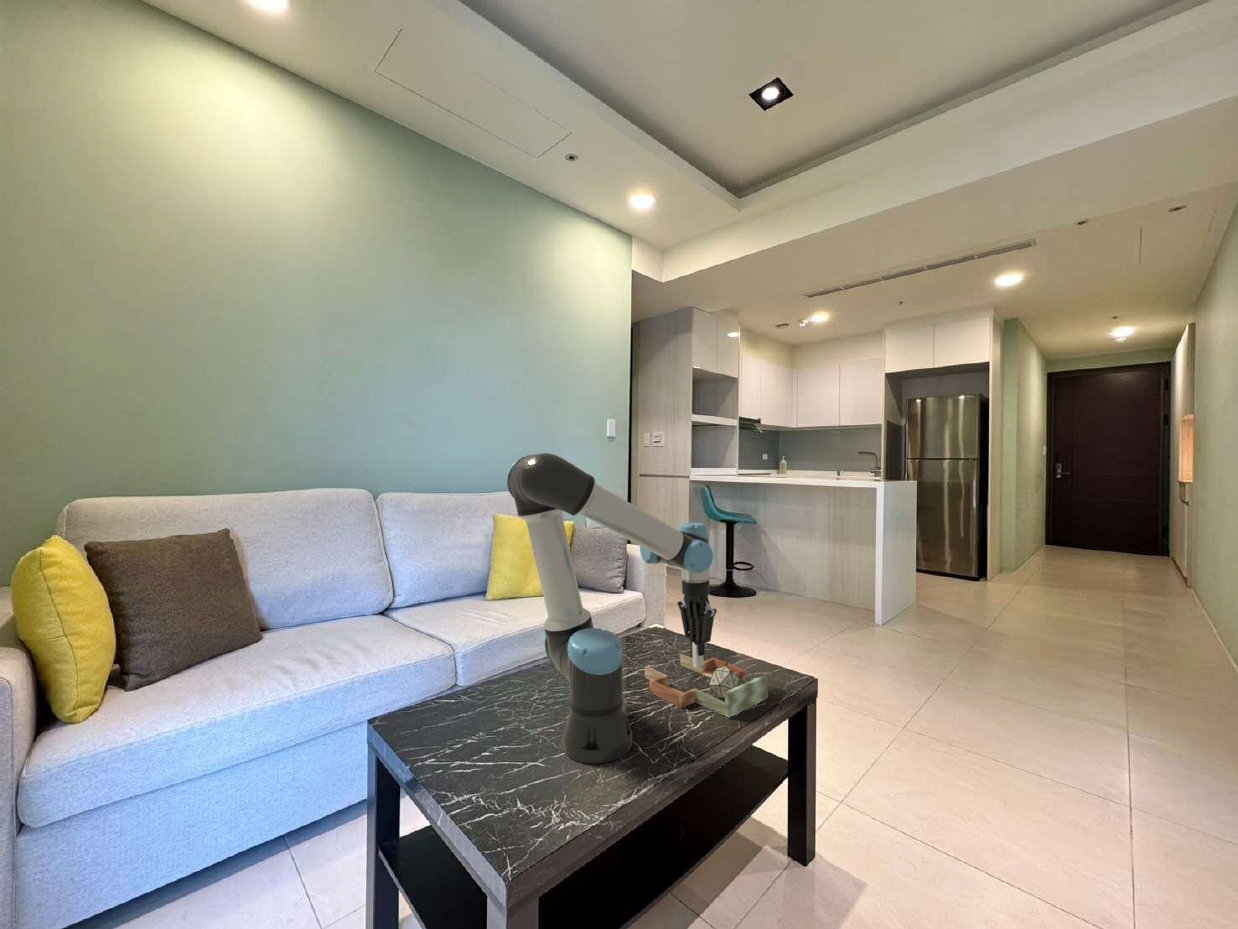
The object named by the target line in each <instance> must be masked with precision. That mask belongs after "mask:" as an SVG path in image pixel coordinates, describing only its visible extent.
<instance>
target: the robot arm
mask: <svg viewBox="0 0 1238 929" xmlns="http://www.w3.org/2000/svg"><path fill="white" fill-rule="evenodd" d="M506 487H507V490H508V492H509V494H510V496H511V497H512V498H513V499H514V503H515V508H516V511H517V516H518V518H520V519H522V520H524V521H525V522H526V525H527V526H526V527H527V530H528V534H529V539H530V544H531V548H532V551H533V556H534V561H535V566H536V570H537V574H538V579H539V582H540V587H541V591H542V595H543V600H544V604H545V608H546V613H547V618H546V620H545V621H544V622H543V628H544V633H545V635H544V640H543V644H544V645H543V646H544V651H545V654H546V656H547V659H548V660H549V662H550V663H551V664H552V665H553V666H554V668H556V669H557V670H558V671H559V672H560V673H561V674H562V675H563V676H564V677H565V679H567V681H568V685H569V712H568V716H567V720H566V723H565V728H564V731H563V734H562V748H563V752H564V753H565V755H566V756H567V757H568V758H570V759H572V760H574V761H576V762H577V761H578V762H581V763H585V764H605V763H610V762H612V761H615V760H618V759H620V758H622V757H624V756H625V755H626V754H627V753H629V752H630V750H631V749H632V746H633V731H632V728H631V725H630V721H629V719H628V717H627V714H626V711H625V708H624V686H623V684H624V680H623V679H624V678H623V677H624V675H623V657H624V656H623V650H622V642H621V640H620V638H619V637H618V635H616V634H615V633H614V632H612V631H610V630H608V629H607V630H606V629H604V630H603V629H602V628H599V627H598V628H596V627H595V628H594V624H593V619H592V615H591V614H592V613H591V611H589V610H588V609H587V608H584V607H583V602H582V599H581V594H580V589H579V586H578V580H577V576H576V571H575V567H574V563H573V562H574V561H573V558H572V552H571V549H570V546H569V541H568V535H567V530H566V527H565V522H564V517H563V512H565V513H567V514H569V515H571V516H573V517H575V516H579V515H580V516H583V517H585V518H586V519H588V520H590V521H592V522H594V523H596V524H598V525H600V526H601V527H602V528H603V527H604V528H605V529H607V530H609V531H611V532H613V533H615V534H617V535H619V536H621V537H623V538H625V539H627V540H628V541H630V542H631V543H634V544H636V545H638V546H639V553H640V556H641V559H642V560H643V561H644V563H646V564H651V565H653V564H654V565H657V564H666V565H669V566H672V567H676V568H680V570H681V571H680V572H681V573H680V574H681V579H682V581H681V588H682V589H681V593H682V594H683V599H682V600H680V601H677V607H678V608H679V611H680V616H681V621H682V626H683V627H682V628H683V632H684V636H685V638H686V639H688V640H689V641H690V650H691V654H692V658H693V667H695V668H699V667H702V666H704V661H705V660H704V658H705V657H704V656H705V654H706V647H705V644H706V643H709V642H711V638H712V632H713V626H714V618H715V616H716V614H717V612H718V611H717V609H716V608H712V606H711V604H710V600H709V595H710V593H711V590H710V589H711V588H710V585H711V584H710V580H709V578H710V567H711V566H712V563H713V559H714V552H713V548H712V547H711V546H710V545H709V540H710V538H709V532H708V527H707V525H706V524H705V523H703V522H685V523H681V524H680V526H679V530H678V529H676V528H675V527H673V526H671V525H670V524H668V523H666V522H664V521H662V520H660V519H659V518H657V517H655V515H653V514H650V513H649V512H647V511H645V510H643V509H641V508H640V507H638V506H636V505H634V504H633V503H631V502H629V501H627V500H625V499H624V498H622V497H620V496H619V495H616V494H615V493H613V492H611V491H609V490H607V489H606V488H604V487H603V486H601V485H599V484H597V481H596V478H595V477H594V476H593V475H591V474H589V473H587V472H585V471H584V470H583V469H581V468H579V467H578V466H575V464H572V462H569V461H568V460H566V459H564V458H563V457H560V456H558V455H556V454H554V453H549V452H547V453H546V452H544V453H543V452H542V453H537V454H528V455H525V456H522V457H520V458H519V459H517V460H516V461H515V462H514V463H513V464H512V465H511V466H510V468H509V469H508V472H507V474H506Z"/></svg>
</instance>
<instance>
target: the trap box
mask: <svg viewBox="0 0 1238 929" xmlns="http://www.w3.org/2000/svg"><path fill="white" fill-rule="evenodd" d="M679 659H680V660H679V661H680V663H679V664H680V666H682V667H685V668H686V669H689V670H692V671H693V672H696V673H699V674H701V675H703V676H706V677H708V678H710V679H711V677H712V674H711V672H713V671H714V670H713V669H712V667H714V669H717V668H720V667H723V666H726V665H725V663H727V666H728V667H729V668H730V669H731V670H732V671H733V672H734V673H735V674H736V675H737V676H738V677H743V678H742V679H739V682H738V686H737V687H735V688H733V689H730V690H728V691H726V692H725V698H724V701H722V700H721V699H719V698H718V697H715V696H713V695H711V694H709V693H706V692H704V691H702V690H700V689H698V688H695V687H694V688H692V689H691V688H690V689H689V690H687V691H684V692H682V691H680V690H678V689H676V688H674V687H671V686H670V684H669V681H670V680H669V675H668V674H665V673H663V672H661V671H658V669H654V668H652V667H650V666H644V678H645V679H647V680H649V681H648V684H649V692H650V693H651V694H653V695H655V696H656V697H658V698H660V699H662V700H663V701H666V702H667V703H670V704H671V705H673V706H675V707H677V708H679V709H683V708H685V707H688V706H690V705H693V704H695V703H696V704H698V705H700V706H702V705H703V706H702V707H704V706H705V707H704V708H706V707H707V708H706V709H708V708H709V709H708V710H710V711H712V710H714V711H715V712H714V711H713V712H714V713H716V712H717V713H716V714H718V713H719V714H718V715H720V714H721V715H720V716H722V715H725V716H726V717H728V718H729V717H731V716H734V715H736V716H738V715H739V713H740V712H742V711H744V710H746V711H748V710H750V709H751V708H750V707H752V706H753V705H756V706H758V705H757V704H758V703H760V702H761V701H763V700H766V699H767V698H768V699H769V693H768V692H769V690H768V688H769V686H768V685H769V684H768V676H767V675H765V674H762V675H761V676H758V677H755V678H754V679H751V680H748V679H747V670H746V668H745V669H744V668H743V667H739V666H737V665H734V664H732V663H730V662H729V663H728V662H727V661H726V662H725V661H723V660H721V659H719V658H716V657H712V658H709V659H706V660H704V666H702V667H699V668H695V667H693V657H690V656H688V655H685V654H680V655H679ZM749 708H750V709H749ZM752 708H753V707H752ZM747 709H748V710H747ZM744 712H745V711H744ZM742 713H743V712H742ZM737 714H738V715H737ZM740 714H741V713H740ZM726 717H725V718H726ZM734 717H735V716H734ZM728 718H727V719H728Z"/></svg>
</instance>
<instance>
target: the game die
mask: <svg viewBox="0 0 1238 929" xmlns="http://www.w3.org/2000/svg"><path fill="white" fill-rule="evenodd" d="M727 663H728V662H726V663H725V665H726V666H723V667H720V668H717V669H714V667H712V669H713V670H714V671H713V672H711V674H712V677H711V678H710V679H709V684H706V685H705V687H707V688H708V687H709V688H710V689H711V690H712V691H713V692H714V693H715V694H716V695H717V696H718V697H720V700H722V701H723V699H725V692H726V691H728V690H730V689H733V688H735V687H737V686H738V682H739V679H742V678H743V677H738V676H737V675H736V674H735V673H734V672H733V671H732V670H731V669H730V668H729V667H728V666H727Z"/></svg>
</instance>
